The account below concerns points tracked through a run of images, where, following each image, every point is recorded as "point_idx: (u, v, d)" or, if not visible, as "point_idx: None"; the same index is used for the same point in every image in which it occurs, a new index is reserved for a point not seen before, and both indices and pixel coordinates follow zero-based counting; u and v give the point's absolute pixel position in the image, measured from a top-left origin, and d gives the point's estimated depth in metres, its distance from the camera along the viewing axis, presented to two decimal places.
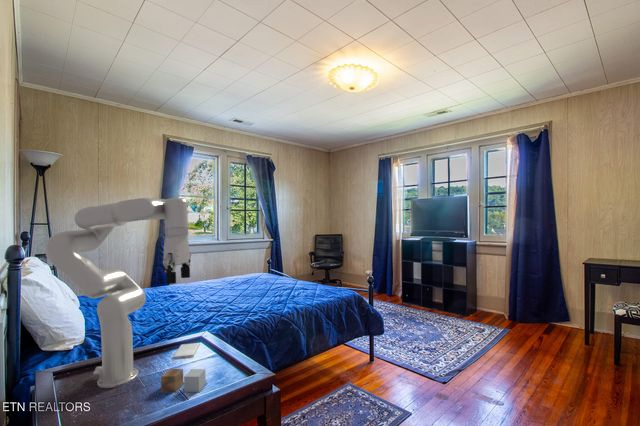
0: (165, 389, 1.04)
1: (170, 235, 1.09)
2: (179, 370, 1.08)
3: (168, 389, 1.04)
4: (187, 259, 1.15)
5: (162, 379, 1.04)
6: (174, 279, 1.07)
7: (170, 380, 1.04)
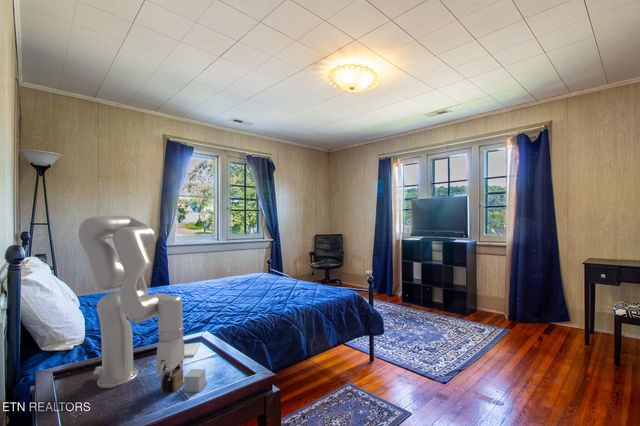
0: None
1: (163, 339, 1.03)
2: (179, 370, 1.08)
3: None
4: (182, 359, 1.09)
5: None
6: (171, 387, 1.04)
7: None
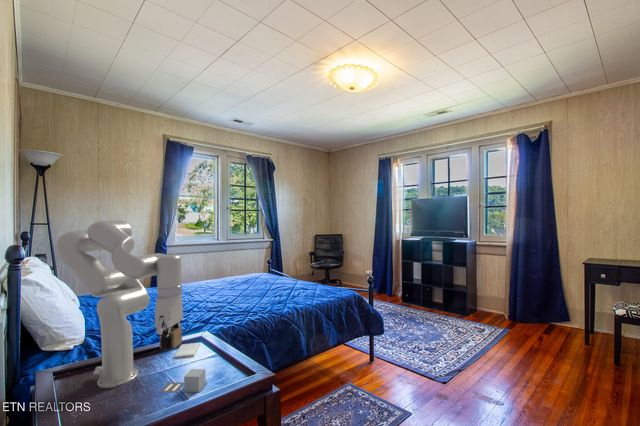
0: None
1: (162, 296, 1.03)
2: (178, 329, 1.08)
3: None
4: (180, 318, 1.09)
5: None
6: (169, 344, 1.04)
7: None
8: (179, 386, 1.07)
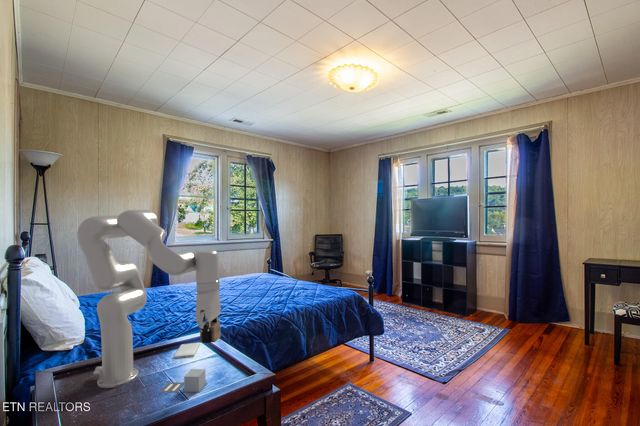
0: None
1: (202, 291, 1.05)
2: (216, 323, 1.10)
3: None
4: (218, 312, 1.11)
5: None
6: (210, 338, 1.05)
7: None
8: (179, 386, 1.07)
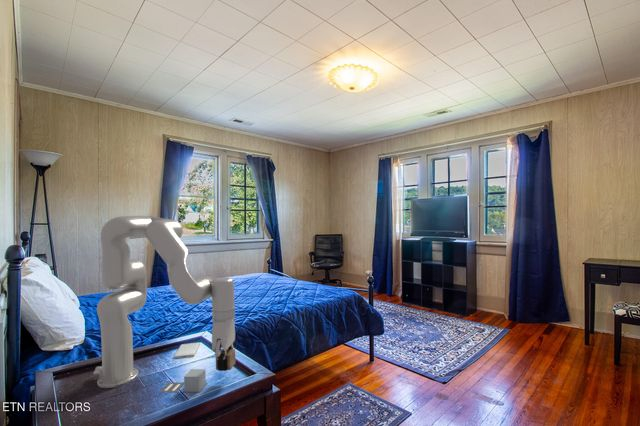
0: None
1: (218, 319, 1.06)
2: (232, 350, 1.11)
3: None
4: (233, 339, 1.12)
5: None
6: (225, 366, 1.06)
7: None
8: (179, 386, 1.07)
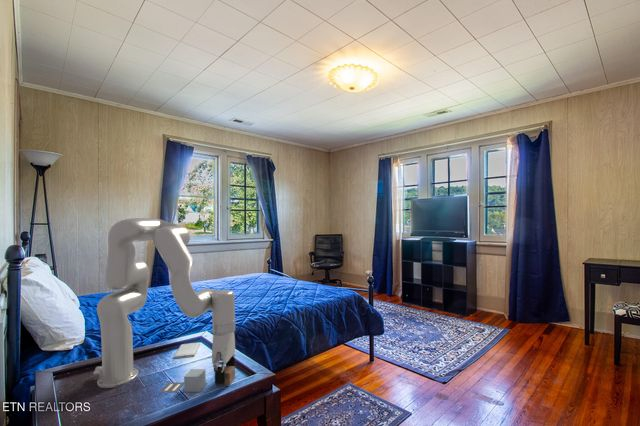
0: None
1: (218, 332, 1.06)
2: (231, 367, 1.11)
3: None
4: (233, 352, 1.12)
5: None
6: (223, 379, 1.04)
7: None
8: (179, 386, 1.07)
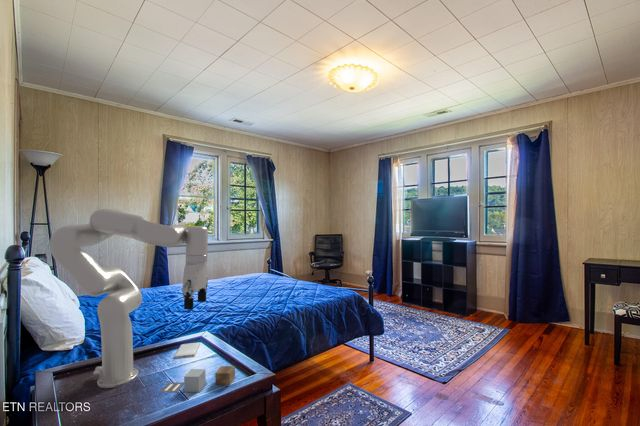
0: None
1: (190, 262, 1.13)
2: (231, 367, 1.11)
3: None
4: (204, 284, 1.19)
5: (216, 376, 1.07)
6: (191, 305, 1.12)
7: (224, 377, 1.07)
8: (179, 386, 1.07)
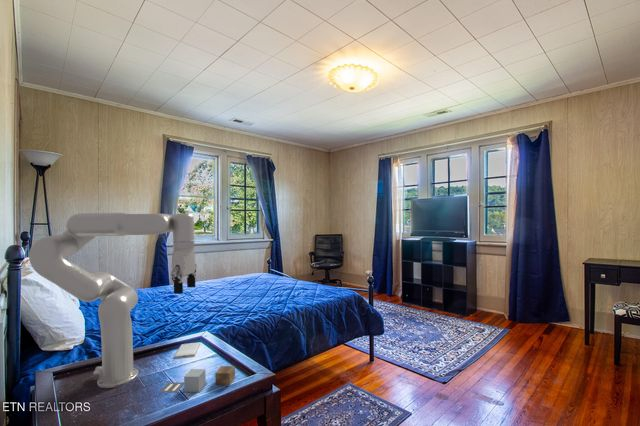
0: None
1: (178, 248, 1.17)
2: (231, 367, 1.11)
3: None
4: (193, 270, 1.23)
5: (216, 376, 1.07)
6: (181, 289, 1.16)
7: (224, 377, 1.07)
8: (179, 386, 1.07)
